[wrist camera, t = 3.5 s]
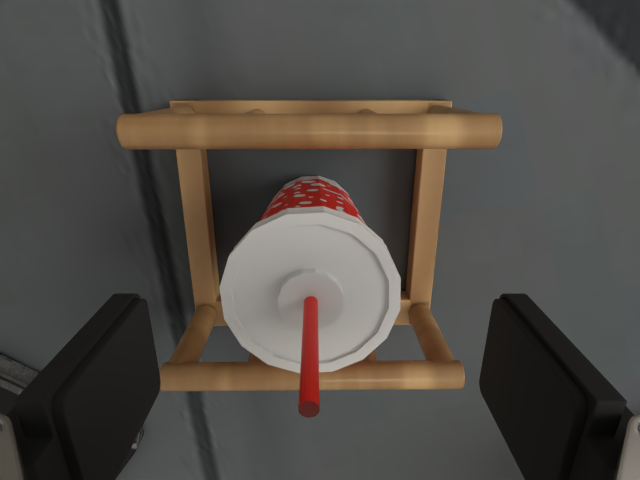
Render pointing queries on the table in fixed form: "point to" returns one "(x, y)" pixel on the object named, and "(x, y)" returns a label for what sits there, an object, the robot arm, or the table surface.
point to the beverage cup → (310, 285)
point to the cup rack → (310, 133)
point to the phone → (12, 378)
